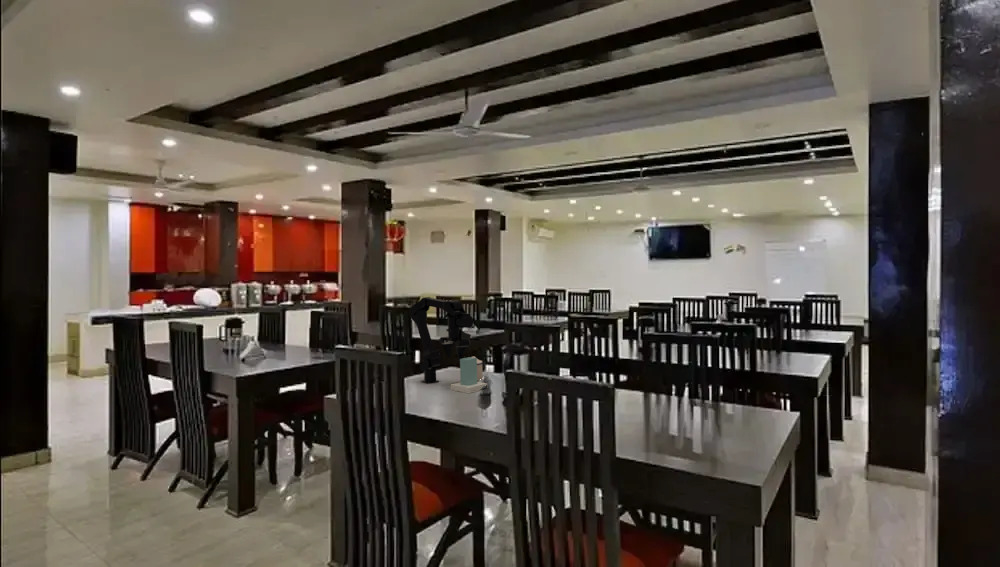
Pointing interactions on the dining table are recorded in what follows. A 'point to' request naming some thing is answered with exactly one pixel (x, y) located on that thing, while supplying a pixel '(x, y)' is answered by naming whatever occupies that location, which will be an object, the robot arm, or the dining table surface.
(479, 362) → the teacup with lid
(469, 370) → the teal block
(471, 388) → the plate
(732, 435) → the dining table surface
